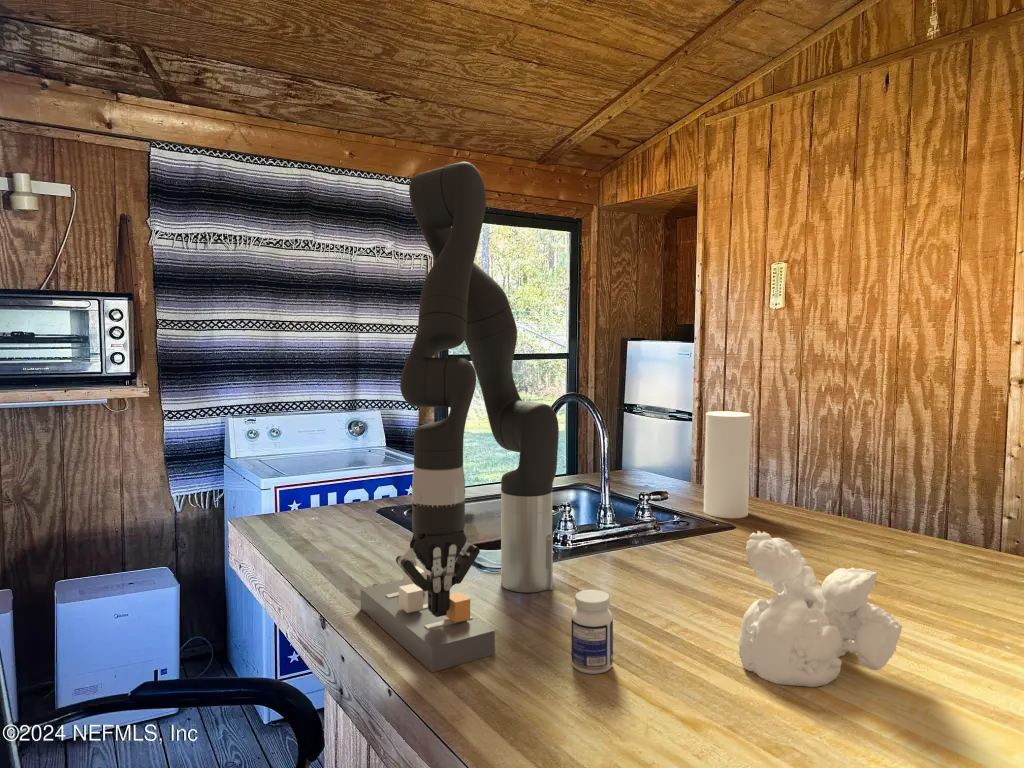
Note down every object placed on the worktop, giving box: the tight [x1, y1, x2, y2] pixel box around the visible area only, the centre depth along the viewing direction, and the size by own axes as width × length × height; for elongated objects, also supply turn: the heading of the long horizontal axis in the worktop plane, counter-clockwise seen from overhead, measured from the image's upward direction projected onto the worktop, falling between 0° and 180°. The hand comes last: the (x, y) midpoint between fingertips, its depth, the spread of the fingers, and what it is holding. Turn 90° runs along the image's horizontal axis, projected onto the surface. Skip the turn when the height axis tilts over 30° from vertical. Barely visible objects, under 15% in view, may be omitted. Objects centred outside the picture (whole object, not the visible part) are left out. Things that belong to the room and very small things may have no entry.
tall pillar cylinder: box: [703, 410, 752, 519], centre depth 180 cm, size 11×11×25 cm
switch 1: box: [403, 565, 425, 588], centre depth 118 cm, size 2×3×3 cm
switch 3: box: [445, 591, 471, 623], centre depth 106 cm, size 2×3×3 cm
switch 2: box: [399, 584, 423, 613], centre depth 110 cm, size 2×3×3 cm
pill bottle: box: [570, 589, 614, 675], centre depth 100 cm, size 6×6×10 cm
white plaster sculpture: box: [738, 530, 903, 688], centre depth 100 cm, size 19×20×20 cm
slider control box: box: [359, 578, 496, 673], centre depth 114 cm, size 32×10×4 cm, turn 33°
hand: (438, 614), depth 105 cm, fingers closed
